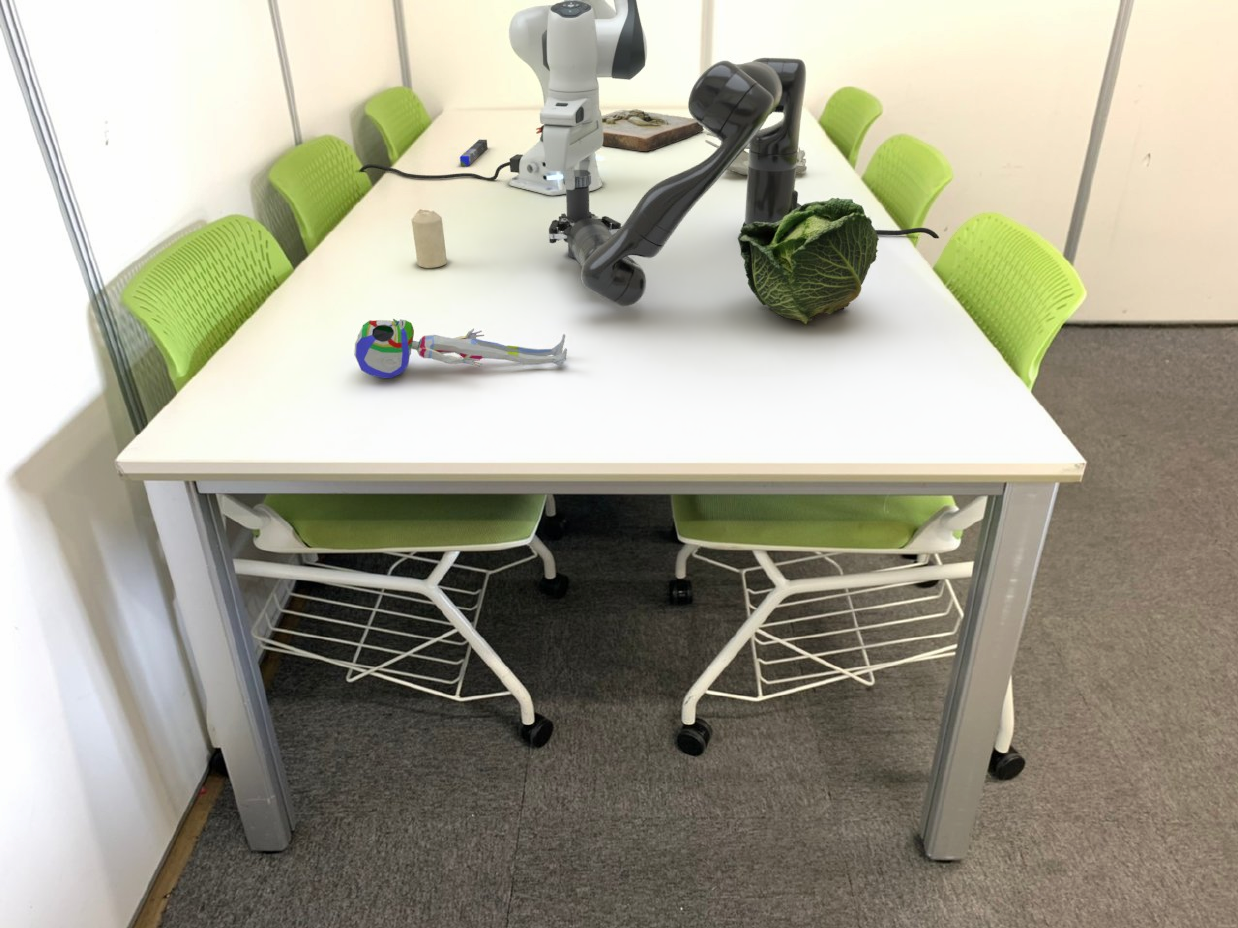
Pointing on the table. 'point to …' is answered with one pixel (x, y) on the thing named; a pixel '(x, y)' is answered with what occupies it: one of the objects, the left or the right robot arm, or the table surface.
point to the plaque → (645, 129)
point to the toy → (435, 349)
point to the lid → (581, 178)
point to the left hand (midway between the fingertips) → (577, 184)
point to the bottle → (577, 207)
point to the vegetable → (810, 258)
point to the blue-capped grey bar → (473, 152)
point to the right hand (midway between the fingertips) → (575, 217)
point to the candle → (429, 239)
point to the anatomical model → (742, 160)
